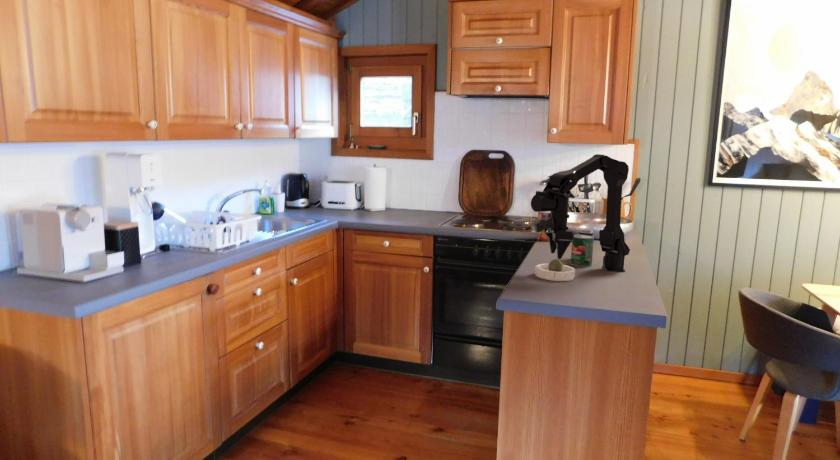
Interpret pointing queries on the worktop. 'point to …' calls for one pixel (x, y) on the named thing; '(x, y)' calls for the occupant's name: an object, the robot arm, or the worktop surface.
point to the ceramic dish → (555, 273)
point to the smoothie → (541, 234)
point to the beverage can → (586, 231)
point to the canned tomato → (582, 250)
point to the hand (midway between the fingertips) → (555, 255)
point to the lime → (555, 266)
